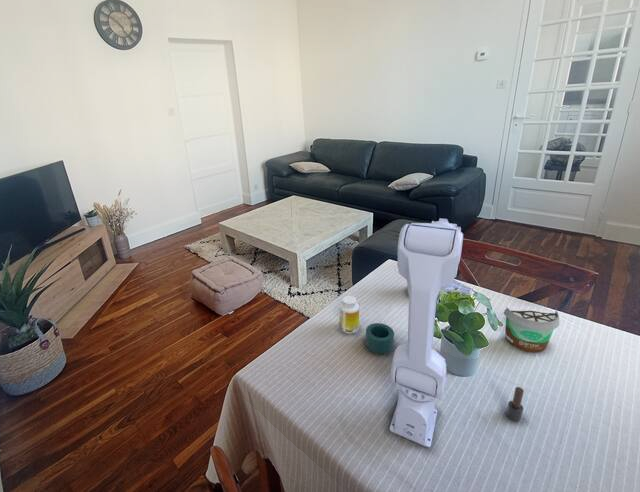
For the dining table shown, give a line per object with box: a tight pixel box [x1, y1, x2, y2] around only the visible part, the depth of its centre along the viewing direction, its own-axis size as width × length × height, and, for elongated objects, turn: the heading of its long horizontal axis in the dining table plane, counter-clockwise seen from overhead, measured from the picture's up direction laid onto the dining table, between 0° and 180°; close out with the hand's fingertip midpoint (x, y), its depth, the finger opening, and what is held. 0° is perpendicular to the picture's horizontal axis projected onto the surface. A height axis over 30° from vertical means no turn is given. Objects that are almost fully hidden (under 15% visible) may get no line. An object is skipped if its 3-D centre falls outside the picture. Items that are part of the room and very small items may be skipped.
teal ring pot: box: [365, 322, 395, 355], centre depth 93 cm, size 7×7×4 cm
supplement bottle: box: [339, 295, 360, 334], centre depth 100 cm, size 6×6×10 cm
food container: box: [503, 307, 561, 354], centre depth 87 cm, size 12×6×10 cm, turn 76°
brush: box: [506, 386, 525, 423], centre depth 70 cm, size 3×3×8 cm
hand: (437, 308), depth 90 cm, fingers open, 7 cm apart
